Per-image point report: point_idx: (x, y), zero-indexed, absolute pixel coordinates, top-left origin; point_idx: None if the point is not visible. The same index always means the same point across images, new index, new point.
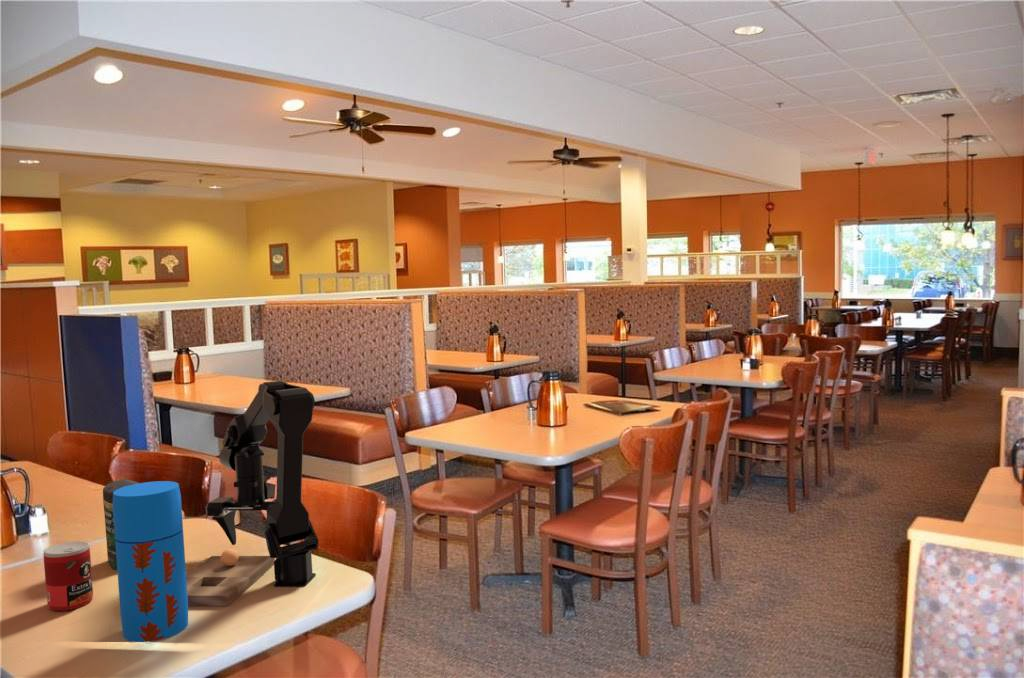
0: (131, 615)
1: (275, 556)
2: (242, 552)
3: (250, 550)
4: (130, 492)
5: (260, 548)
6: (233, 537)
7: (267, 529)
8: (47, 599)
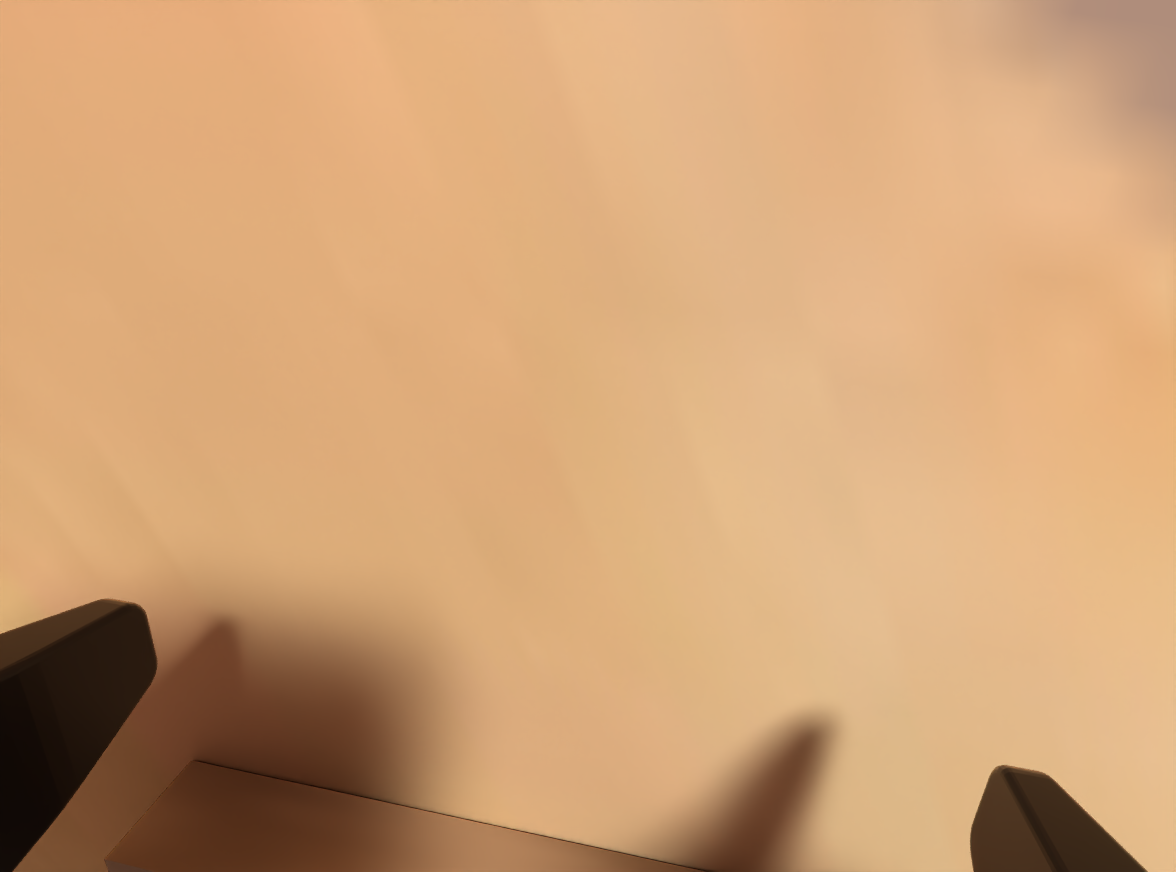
0: None
1: None
2: (282, 339)
3: (363, 241)
4: None
5: (501, 125)
6: (23, 789)
7: None
8: None
